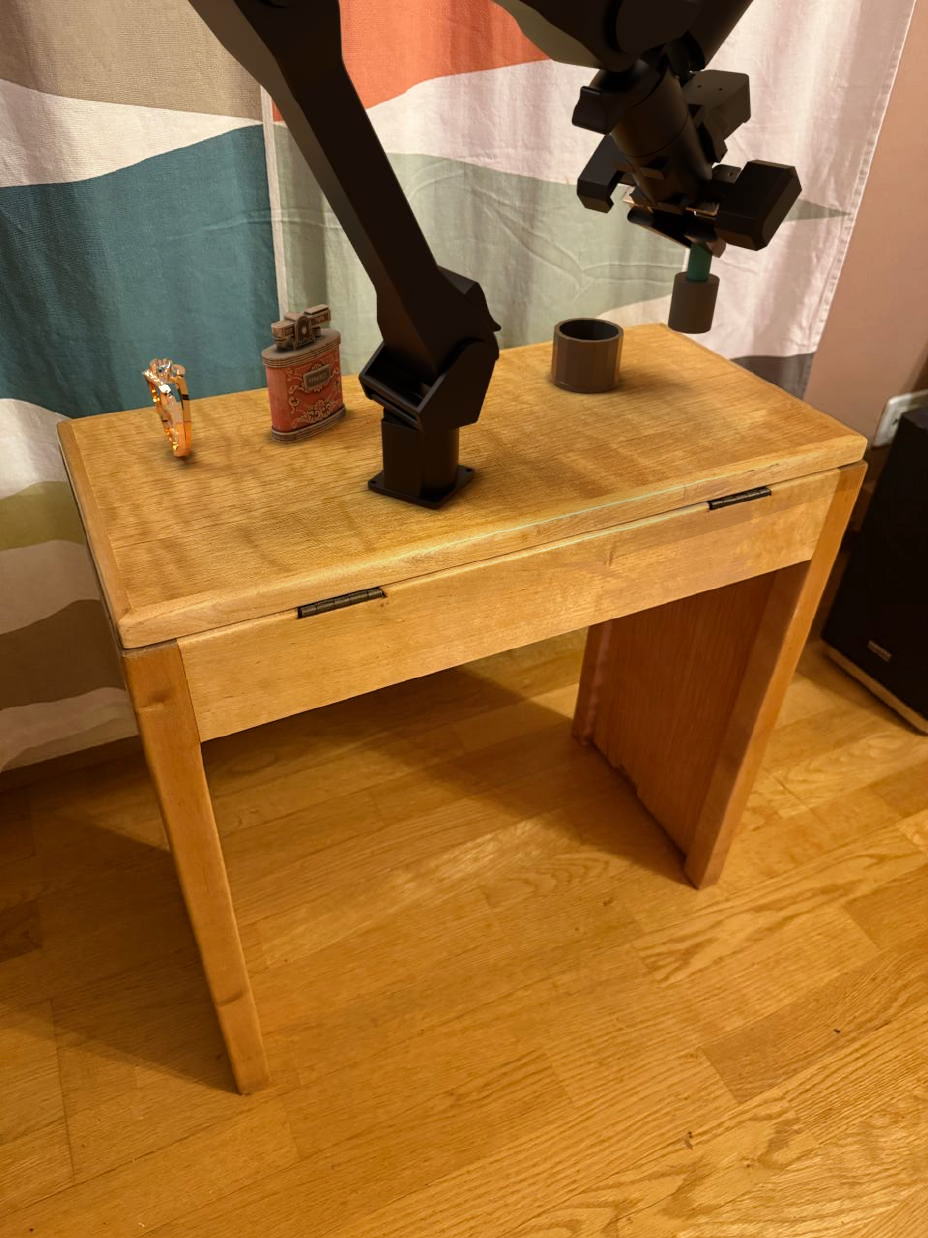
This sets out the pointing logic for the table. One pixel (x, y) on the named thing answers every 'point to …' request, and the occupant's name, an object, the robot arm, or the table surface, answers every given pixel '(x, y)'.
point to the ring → (171, 403)
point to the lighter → (304, 375)
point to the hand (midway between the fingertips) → (710, 250)
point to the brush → (694, 295)
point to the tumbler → (586, 355)
